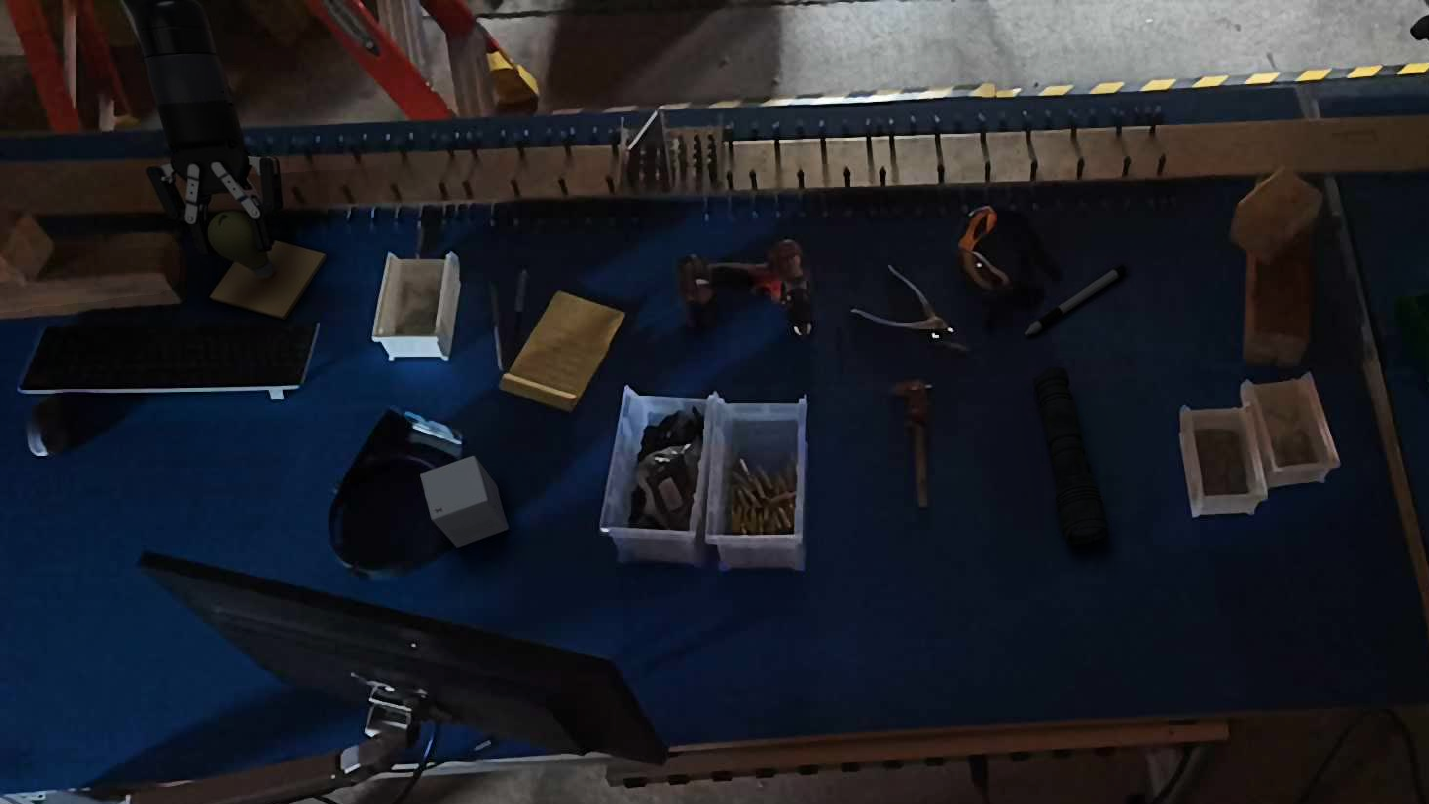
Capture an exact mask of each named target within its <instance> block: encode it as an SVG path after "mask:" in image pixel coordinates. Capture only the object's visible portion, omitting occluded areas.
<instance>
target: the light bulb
mask: <svg viewBox="0 0 1429 804" xmlns="http://www.w3.org/2000/svg"><path fill="white" fill-rule="evenodd" d="M249 220H252V217H251V216H250V215H249V214H246V213H245V212H244V213H243V212H240V211H235V210H229V211H223V212H220V213H218V214H217V215H215V216H214V217H213V218H212V219H211V220H210V221H209V223H210V224H209V226H208V239H209V242H210V244H211V245H212V247H213V248H214V250H215V251H216V252H217V253H218V255H220V256H221V257H223V258H225V259H227V260H229V261H232V262H238V263H240V264H242V265H243V266H245V267H246V268H249V269H250V270H251V271H252V272H253V273H254V274H255V275H256V276H257V277H258V278H268V277H270V276H271V275H272V274H273V273H274V271H275V266H274V265H273V263H272V262H271V261H270V260H269V258H268V255H267V252H259V251H258V250H257V246H256V243H255V239H254V236H253V232H252V229H251V225H250V222H249Z"/></svg>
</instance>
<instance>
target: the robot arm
mask: <svg viewBox="0 0 1429 804" xmlns="http://www.w3.org/2000/svg"><path fill="white" fill-rule="evenodd" d="M122 1H123V3H124V5H125V6H126V8H127V10H128V11H129V13H130V14H131V16H132V19H133V22H134V27H135V30H136V33H137V36H138V39H139V40H138V41H139V43H140V47H141V50H142V53H143V57H144V60H145V66H146V72H147V73H146V74H147V78H148V79H147V80H148V82H149V86H150V89H151V93H152V97H153V99H154V100H153V101H154V103H155V106H156V110H157V113H158V117H159V120H160V124H161V127H162V130H163V134H164V136H165V140H166V143H167V145H168V147H169V149H170V152H171V156H170V161H169V162H168V163H165V164H162V165H151V166H147V167H146V169H145V173H146V175H147V177H148V180H149V181H150V183H151V185H152V188H153V190H154V191H155V194H156V196H157V199H158V200H159V202H160V204H161V206H162V208H163V210H164V212H165V214H166V216H167V218H168V219H170V220H177V221H182V222H184V223H186V224H187V225H188V227H189V230H190V234H191V237H192V239H193V244H194V247H195V249H196V250H197V252H198V253H201V255H202V256H203V257H204V258H209V257H215V256H217V255H219V253H217V252H216V251H215V250H214V248H213V247H212V245H211V244H210V242H209V239H208V226H209V224H210V221H208V222H206V220H207V217H208V216H207V215H208V210H209V205H210V203H211V202H212V197H213V195H218V194H231V196H232V197H233V198H234V199H235V201H237V202H239V203H240V204H241V205H242V207H243V209H244V210H245V211H246V212H247V215H248V216H250V217H251V218H252V220H249V222H250V225H251V229H252V232H253V236H254V239H255V243H256V246H257V250H258V251H259V252H267V251H271V250H272V245H274V243H275V240H276V239H275V236H274V233H273V229H272V225H271V222H270V216H271V215H272V214H273V213H275V212H277V211H281V210H283V208H284V206H285V205H284V195H283V185H282V184H283V183H282V182H283V181H282V172H281V162H280V160H279V158H278V157H277V156H255V155H252V154H251V152H250V151H249V150H248V148H247V147H246V145H245V138H244V133H243V130H242V125H241V123H240V120H239V116H238V112H237V109H236V104H235V101H234V98H233V97H234V96H233V90H232V87H231V86H230V83H229V80H228V77H227V76H228V75H227V73H226V71H225V69H224V66H223V63H222V62H221V59H220V56H219V54H218V52H219V51H218V49H217V45H216V41H215V38H214V34H213V31H212V26H211V23H210V19H209V17H208V14H207V12H206V10H205V8H204V7H203V5H202V4H201V3H200V2H199V1H198V0H122ZM252 167H253V168H254V171H255V173H256V174H257V175H258V176H260V177H259V178H260V185H261V195H262V196H260V193H259V191H258V190H257V188H256V187H255V185H254V184H253V183H252V182H251V181H250V179H249V178H248V177H249V175H250V173H251V170H252ZM176 175H178V176H179V177H180V178H181V179H182V180H184V182H185V183H186V187H185V194H184V199H183V196H182V195H181V193H180V191H179V189H178V187H177V184H176V182H177V176H176ZM185 202H186V203H185Z"/></svg>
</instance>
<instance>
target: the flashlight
mask: <svg viewBox="0 0 1429 804" xmlns="http://www.w3.org/2000/svg"><path fill="white" fill-rule="evenodd" d="M1069 379H1070V378H1069V374H1068V372H1067V369H1065V368H1064V367H1062V366H1058V365H1057V366H1050V367H1047V368H1046V369H1045V370H1043V371H1042V373H1040V374H1038V375H1037V376H1036V377H1035V378H1032V384H1033V387H1034V391H1035V392H1036V393H1037V394H1038V396H1039V397H1038V404H1039V407H1040V415H1041V420H1042V425H1043V429H1044V434H1045V437H1046V443H1047V447H1048V448H1049V449H1050V453H1049V454H1050V459H1051V462H1052V465H1053V468H1054V474H1055V477H1056V496H1055V502H1056V506H1057V512H1058V516H1059V521H1060V525H1061V529H1062V534H1063V535H1064V538H1065V541H1066V542H1067V543H1068V544H1071V545H1076V546H1077V545H1078V546H1079V545H1087V544H1092V542H1093V541H1095V542H1098V541H1100V540H1101V539H1103V538H1105V537H1106V536H1108V534H1109V531H1108V521H1107V518H1106V513H1105V509H1104V506H1103V505H1104V504H1103V501H1102V498H1101V493H1100V490H1099V487H1098V486H1097V485H1096V484H1095V482H1094V479H1093V477H1092V475H1091V466H1090V464H1089V463H1087V461H1086V449H1085V446H1084V444H1083V443H1082V441H1083V436H1082V431H1081V428H1080V423H1079V420H1078V416H1077V412H1076V408H1075V404H1074V402H1073V397H1072V394H1071V391H1070V389H1069V386H1070V380H1069Z"/></svg>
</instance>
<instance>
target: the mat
mask: <svg viewBox="0 0 1429 804" xmlns="http://www.w3.org/2000/svg"><path fill="white" fill-rule="evenodd" d="M267 255H268V258H269V260H270V261H271V262H272V263H273V265H274V266H275V271H274V273H273V274H272V275H271V276H270V277H268V278H258V277H257V276H256V275H255V274H254V273H253V272H252V271H251V270H250V269H249V268H246V267H245V266H243V265H242V264H240V263H238V262H235V261H233V263H232V265H231V266H230V267H229V268H228V270H227V271H226V272H225V274H224V275H223V277H222V278H221V280H220V282H219V283H218V284H217V285H216V287H215V289H214V290H213V291H212V293H211V294H210V296H209V298H210V300H212V301H216V302H218V303H219V302H220V303H223V304H226V305H230V306H233V307H238V308H241V309H244V310H249V311H251V312H255V313H259V314H263V315H266V316H270V317H273V318H276V319H280V320H284V321H286V320H287V318H288V317H289V316H290V314H291V312H292V311H293V309H294V308H295V307H296V305H297V303H298V302H299V300H300V299H301V297H302V295H304V293H305V291H306V290H307V288H308V287H309V285H310V283H311V282H312V280H313V279H314V277H315V276H316V274H318V272H319V271H320V269H321V267H322V266H323V264H324V262H325V261H326V260H327V258H328V256H327V254H326V253H324V252H320V251H317V250H313V249H309V248H304V247H301V246H298V245H294V244H290V243H287V242H283V241H279V240H276V239H275V243H274V245H272V250H271V251H267Z"/></svg>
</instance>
